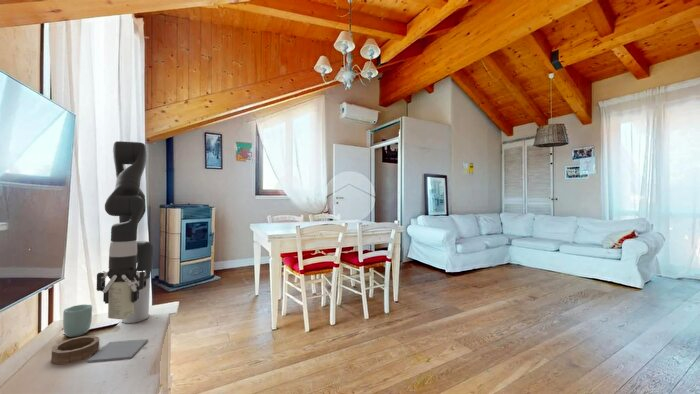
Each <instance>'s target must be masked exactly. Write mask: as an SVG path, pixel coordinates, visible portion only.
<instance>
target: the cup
mask: <svg viewBox="0 0 700 394" xmlns="http://www.w3.org/2000/svg"><path fill="white" fill-rule="evenodd" d="M92 320H93V305H92V304H87V303H85V304H77V305H73V306H69V307H67V308H65V309H64V310H63V313H62V330H63V333H64V335H65V336H66V337H70V338H77V337H81V336H82V335H83V336H84V334H86V333H88V332H89V331H90V328H91V326H92Z"/></svg>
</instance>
